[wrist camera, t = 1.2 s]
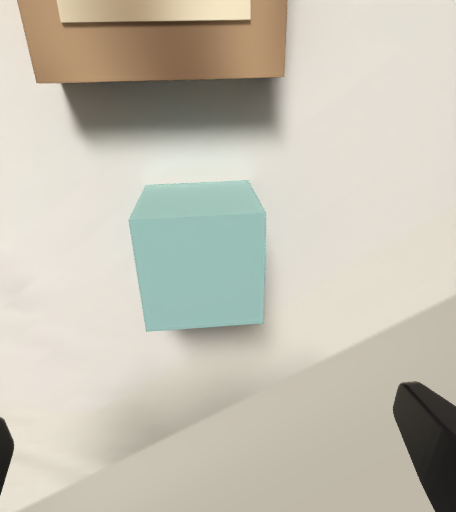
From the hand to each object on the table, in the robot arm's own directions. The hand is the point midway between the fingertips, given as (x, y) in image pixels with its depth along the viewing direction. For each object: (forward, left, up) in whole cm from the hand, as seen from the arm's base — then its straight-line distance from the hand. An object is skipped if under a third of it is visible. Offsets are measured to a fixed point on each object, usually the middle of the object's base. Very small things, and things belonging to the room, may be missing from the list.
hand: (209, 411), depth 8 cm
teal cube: (0, 0, -12) cm, 12 cm away
